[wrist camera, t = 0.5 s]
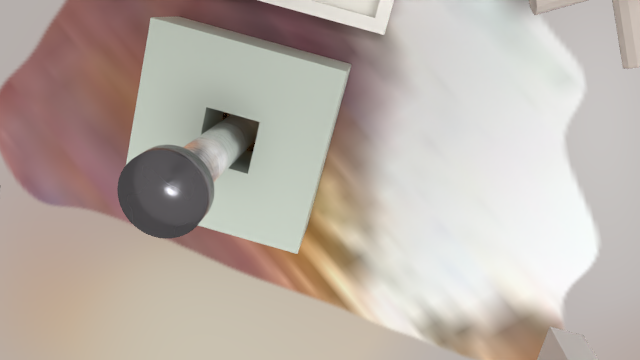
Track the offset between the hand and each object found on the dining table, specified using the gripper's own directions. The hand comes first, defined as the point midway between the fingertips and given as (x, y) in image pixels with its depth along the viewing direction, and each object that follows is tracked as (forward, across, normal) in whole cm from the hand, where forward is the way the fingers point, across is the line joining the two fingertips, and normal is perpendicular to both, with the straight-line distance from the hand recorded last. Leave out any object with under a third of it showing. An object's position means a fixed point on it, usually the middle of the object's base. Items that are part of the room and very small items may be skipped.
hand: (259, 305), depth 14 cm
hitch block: (+28, -6, -2) cm, 28 cm away
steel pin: (+28, -6, -2) cm, 28 cm away
